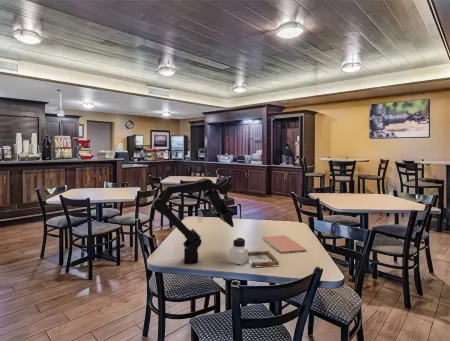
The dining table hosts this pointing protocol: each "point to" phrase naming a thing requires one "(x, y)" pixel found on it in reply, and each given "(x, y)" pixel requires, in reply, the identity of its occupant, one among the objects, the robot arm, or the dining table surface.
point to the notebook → (283, 244)
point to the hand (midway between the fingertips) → (229, 224)
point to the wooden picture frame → (264, 256)
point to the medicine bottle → (238, 252)
